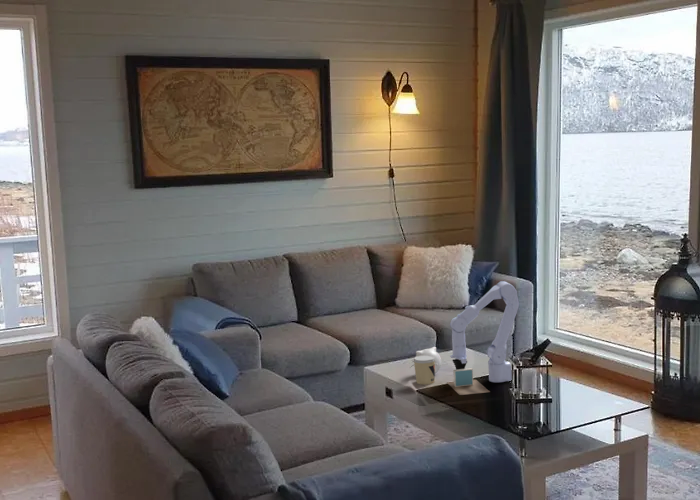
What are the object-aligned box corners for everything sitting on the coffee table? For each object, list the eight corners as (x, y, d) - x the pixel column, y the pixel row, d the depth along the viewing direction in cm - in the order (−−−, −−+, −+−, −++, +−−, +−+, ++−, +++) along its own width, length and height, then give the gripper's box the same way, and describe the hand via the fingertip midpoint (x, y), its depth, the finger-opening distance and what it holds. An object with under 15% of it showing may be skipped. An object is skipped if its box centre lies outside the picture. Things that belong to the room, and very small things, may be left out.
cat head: (426, 381, 351) (424, 354, 350) (407, 376, 362) (405, 350, 361) (451, 374, 360) (449, 348, 359) (431, 369, 371) (430, 344, 369)
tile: (472, 383, 339) (471, 368, 338) (473, 385, 337) (472, 369, 336) (454, 385, 338) (453, 369, 337) (455, 386, 336) (454, 370, 335)
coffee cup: (435, 387, 341) (434, 360, 340) (413, 387, 343) (412, 360, 341) (437, 381, 350) (435, 354, 349) (416, 381, 352) (414, 355, 350)
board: (475, 382, 345) (475, 379, 345) (490, 394, 326) (490, 391, 326) (446, 385, 344) (446, 382, 344) (459, 397, 324) (459, 395, 324)
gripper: (445, 342, 347) (447, 372, 348) (454, 349, 332) (456, 381, 334) (461, 340, 348) (462, 371, 349) (470, 348, 333) (472, 379, 335)
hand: (460, 375), depth 341 cm, fingers closed
